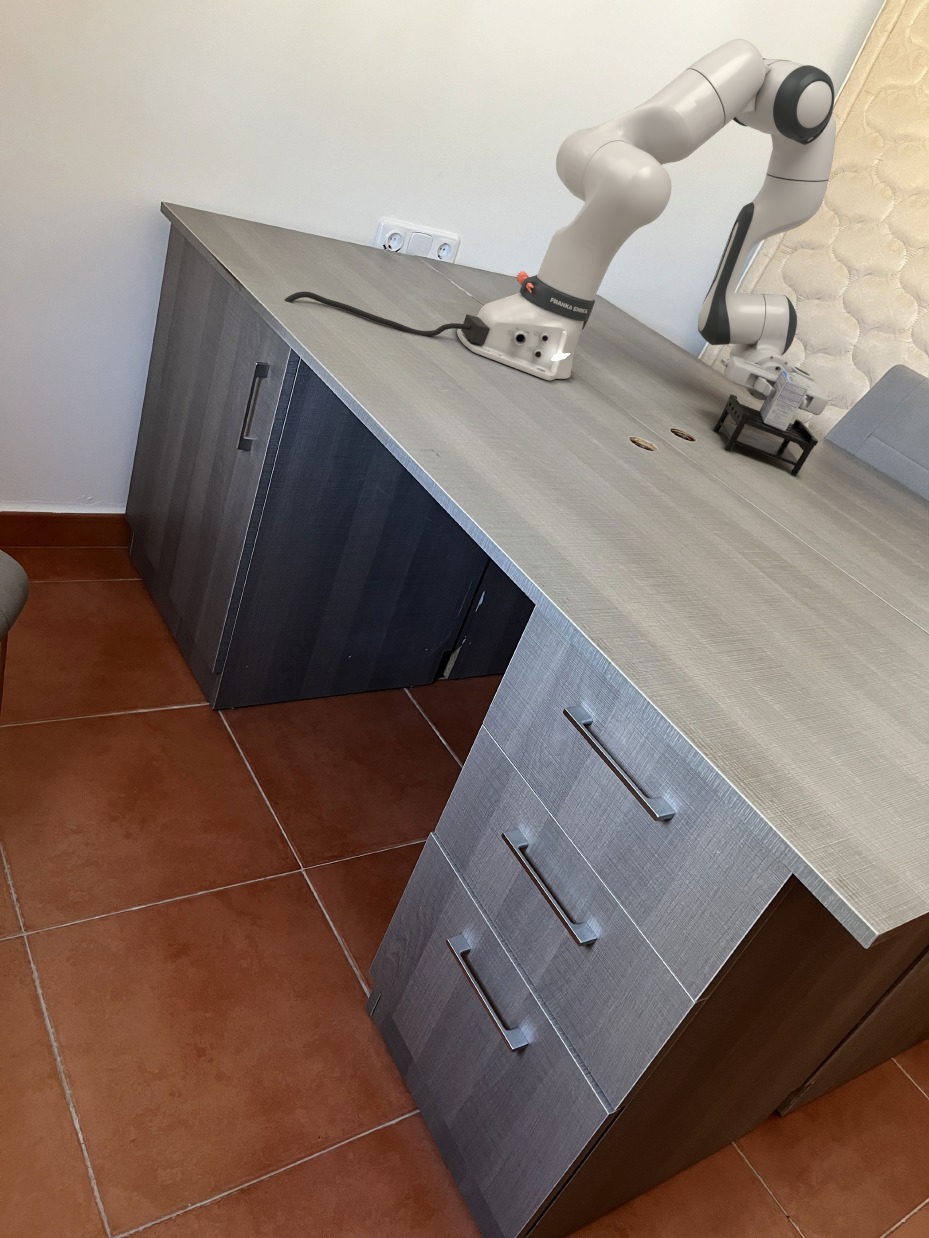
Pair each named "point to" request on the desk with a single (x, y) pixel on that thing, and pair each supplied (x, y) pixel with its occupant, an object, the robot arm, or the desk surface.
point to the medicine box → (783, 401)
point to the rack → (761, 443)
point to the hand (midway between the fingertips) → (786, 399)
